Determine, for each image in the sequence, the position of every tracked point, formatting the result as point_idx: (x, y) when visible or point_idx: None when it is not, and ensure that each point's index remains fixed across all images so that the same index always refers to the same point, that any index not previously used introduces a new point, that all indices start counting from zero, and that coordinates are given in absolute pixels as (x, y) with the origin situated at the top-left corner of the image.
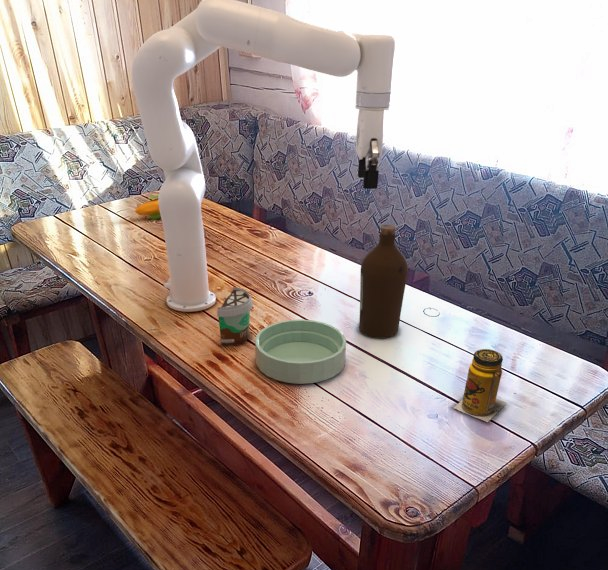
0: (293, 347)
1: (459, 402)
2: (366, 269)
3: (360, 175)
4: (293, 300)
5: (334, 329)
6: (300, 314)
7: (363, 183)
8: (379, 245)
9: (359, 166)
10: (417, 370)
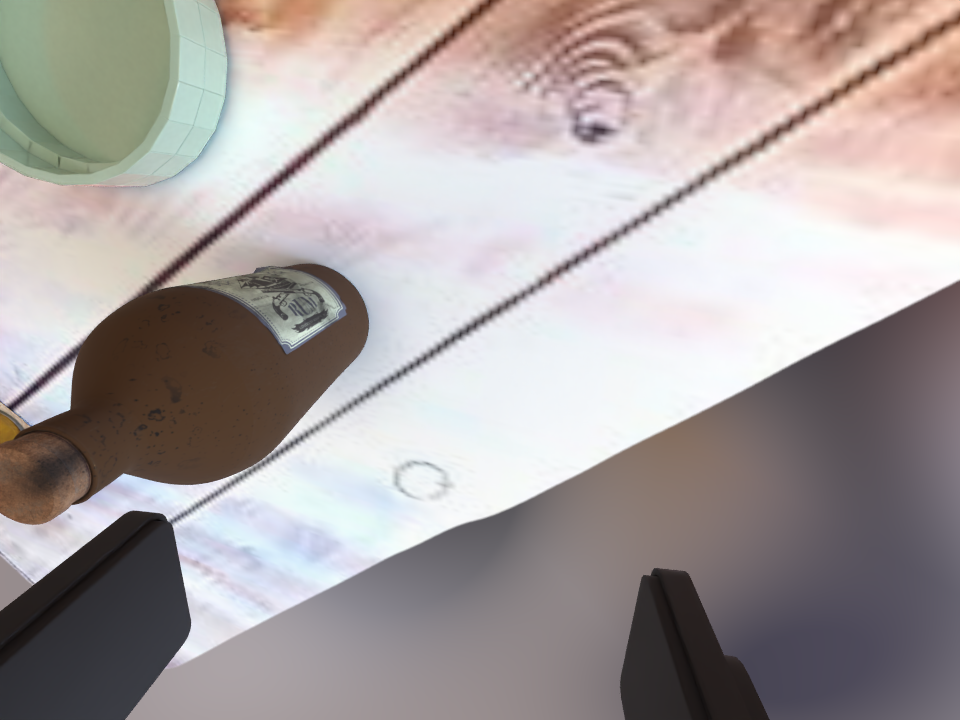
0: (167, 24)
1: (9, 409)
2: (123, 305)
3: (643, 604)
4: (540, 54)
5: (126, 156)
6: (420, 74)
7: (101, 541)
8: (85, 398)
9: (691, 710)
10: None
